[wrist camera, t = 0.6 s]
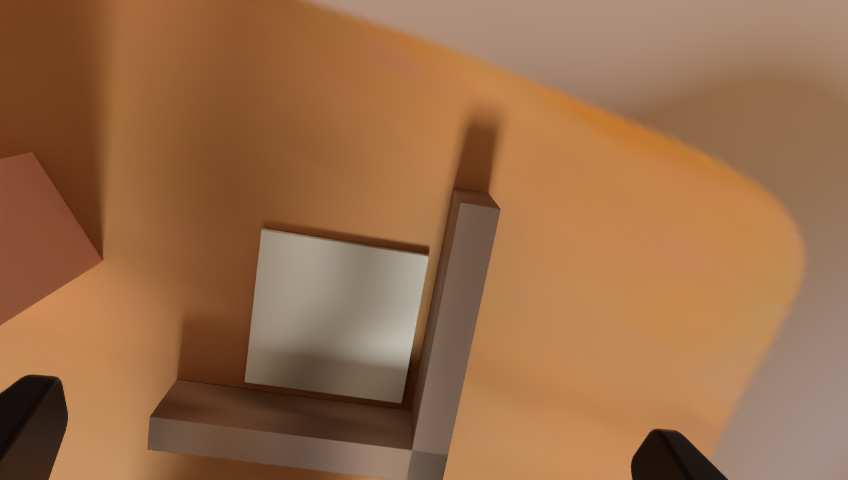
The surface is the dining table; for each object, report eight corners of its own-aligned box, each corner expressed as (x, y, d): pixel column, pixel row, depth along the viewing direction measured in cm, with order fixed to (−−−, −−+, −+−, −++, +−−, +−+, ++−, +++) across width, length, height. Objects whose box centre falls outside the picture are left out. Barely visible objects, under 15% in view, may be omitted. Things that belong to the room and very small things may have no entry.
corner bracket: (174, 409, 27) (147, 449, 24) (195, 144, 24) (167, 154, 21) (436, 443, 28) (441, 485, 25) (488, 193, 25) (500, 209, 22)
